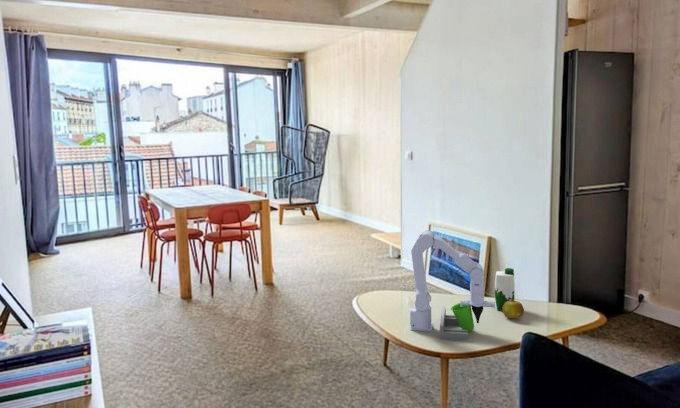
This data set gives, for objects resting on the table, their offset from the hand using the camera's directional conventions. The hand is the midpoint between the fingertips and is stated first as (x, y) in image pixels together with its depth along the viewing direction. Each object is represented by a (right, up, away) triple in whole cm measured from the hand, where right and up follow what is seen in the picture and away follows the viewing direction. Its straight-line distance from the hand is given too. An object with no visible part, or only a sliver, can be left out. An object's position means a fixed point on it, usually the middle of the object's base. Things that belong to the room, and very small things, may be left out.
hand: (477, 322), depth 216 cm
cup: (-4, -4, +1) cm, 5 cm away
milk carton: (+21, 0, +27) cm, 34 cm away
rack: (-9, -4, +3) cm, 11 cm away
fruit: (+21, -2, +15) cm, 25 cm away
